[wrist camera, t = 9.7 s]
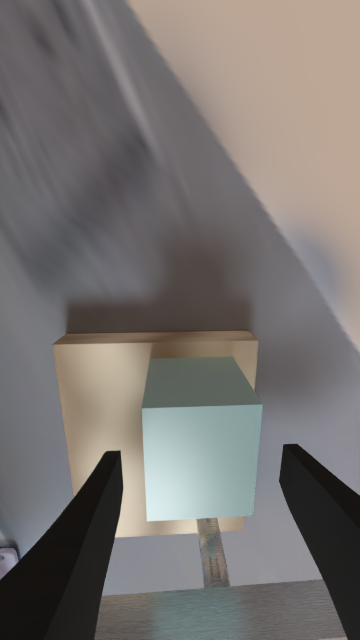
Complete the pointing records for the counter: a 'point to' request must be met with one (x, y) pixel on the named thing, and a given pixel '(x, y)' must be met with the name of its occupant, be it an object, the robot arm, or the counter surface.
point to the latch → (222, 607)
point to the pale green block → (199, 439)
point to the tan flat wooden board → (130, 407)
